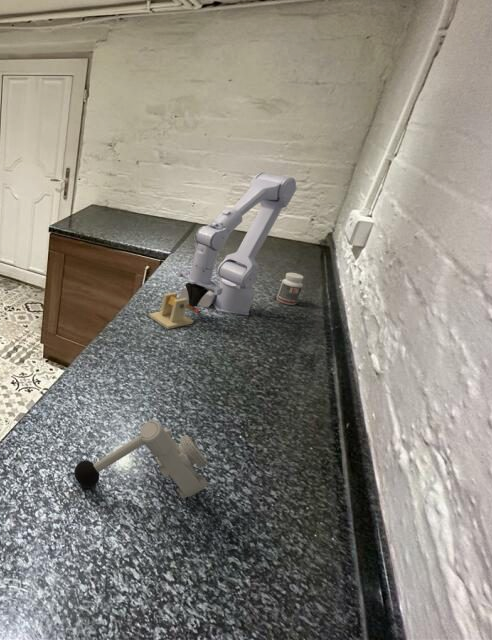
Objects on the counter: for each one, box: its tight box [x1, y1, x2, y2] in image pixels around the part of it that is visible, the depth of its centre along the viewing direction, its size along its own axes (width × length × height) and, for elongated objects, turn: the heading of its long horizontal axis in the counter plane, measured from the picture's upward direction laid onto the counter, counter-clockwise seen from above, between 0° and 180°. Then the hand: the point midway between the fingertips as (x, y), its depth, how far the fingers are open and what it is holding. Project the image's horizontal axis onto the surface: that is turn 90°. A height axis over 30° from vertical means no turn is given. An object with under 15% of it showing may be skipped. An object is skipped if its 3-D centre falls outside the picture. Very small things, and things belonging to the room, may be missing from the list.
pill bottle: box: [276, 272, 305, 306], centre depth 135 cm, size 6×6×10 cm
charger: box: [179, 285, 217, 308], centre depth 137 cm, size 5×9×15 cm
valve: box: [74, 419, 209, 499], centre depth 69 cm, size 10×20×15 cm
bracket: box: [148, 291, 194, 330], centre depth 121 cm, size 10×8×8 cm
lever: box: [167, 296, 201, 315], centre depth 122 cm, size 11×6×2 cm, turn 112°
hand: (192, 305), depth 124 cm, fingers closed, pressing on lever
